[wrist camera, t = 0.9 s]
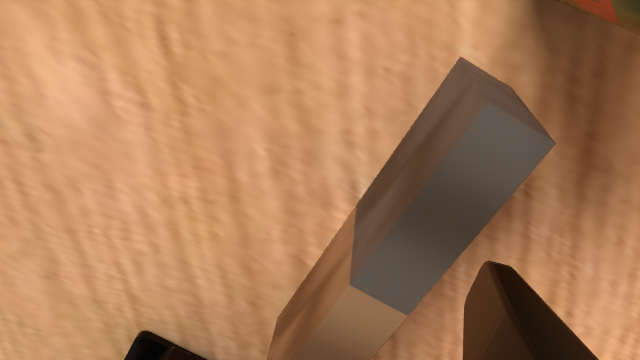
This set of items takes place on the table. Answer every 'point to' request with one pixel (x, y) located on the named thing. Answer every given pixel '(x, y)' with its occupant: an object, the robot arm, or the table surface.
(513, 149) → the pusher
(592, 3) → the soda can
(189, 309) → the table surface
